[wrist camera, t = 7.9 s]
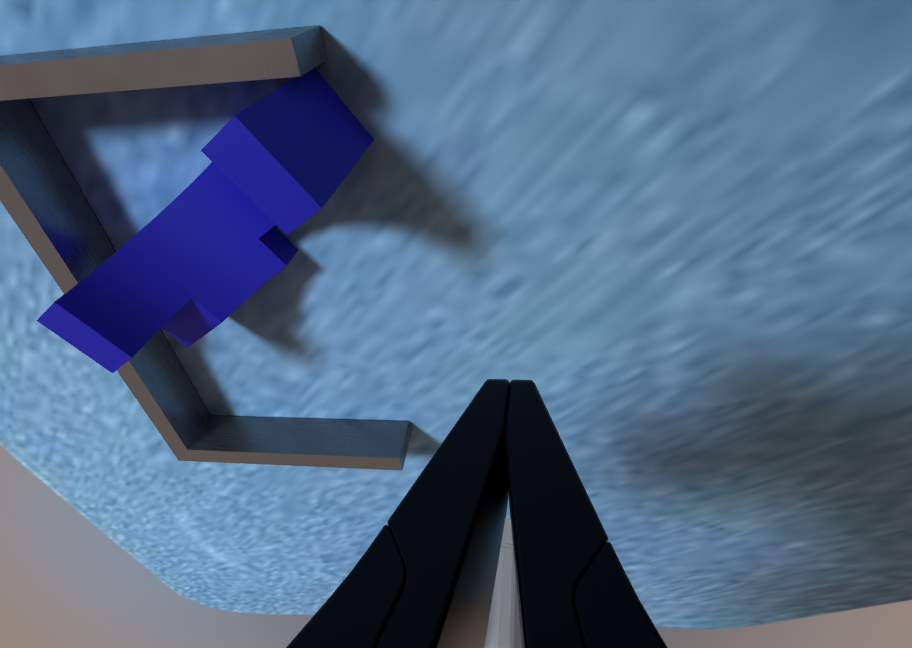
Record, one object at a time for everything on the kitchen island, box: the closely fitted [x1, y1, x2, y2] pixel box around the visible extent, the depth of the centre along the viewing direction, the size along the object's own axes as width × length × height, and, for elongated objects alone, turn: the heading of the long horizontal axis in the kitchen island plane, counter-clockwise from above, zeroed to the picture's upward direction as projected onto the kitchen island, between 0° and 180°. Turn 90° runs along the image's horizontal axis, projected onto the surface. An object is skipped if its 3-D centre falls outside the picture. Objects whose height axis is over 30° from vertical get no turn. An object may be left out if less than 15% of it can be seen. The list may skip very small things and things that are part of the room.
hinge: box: [484, 518, 522, 648], centre depth 31 cm, size 14×5×10 cm, turn 4°
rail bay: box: [0, 25, 411, 470], centre depth 22 cm, size 13×20×3 cm, turn 5°
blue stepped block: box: [37, 68, 374, 373], centre depth 18 cm, size 12×4×6 cm, turn 128°
